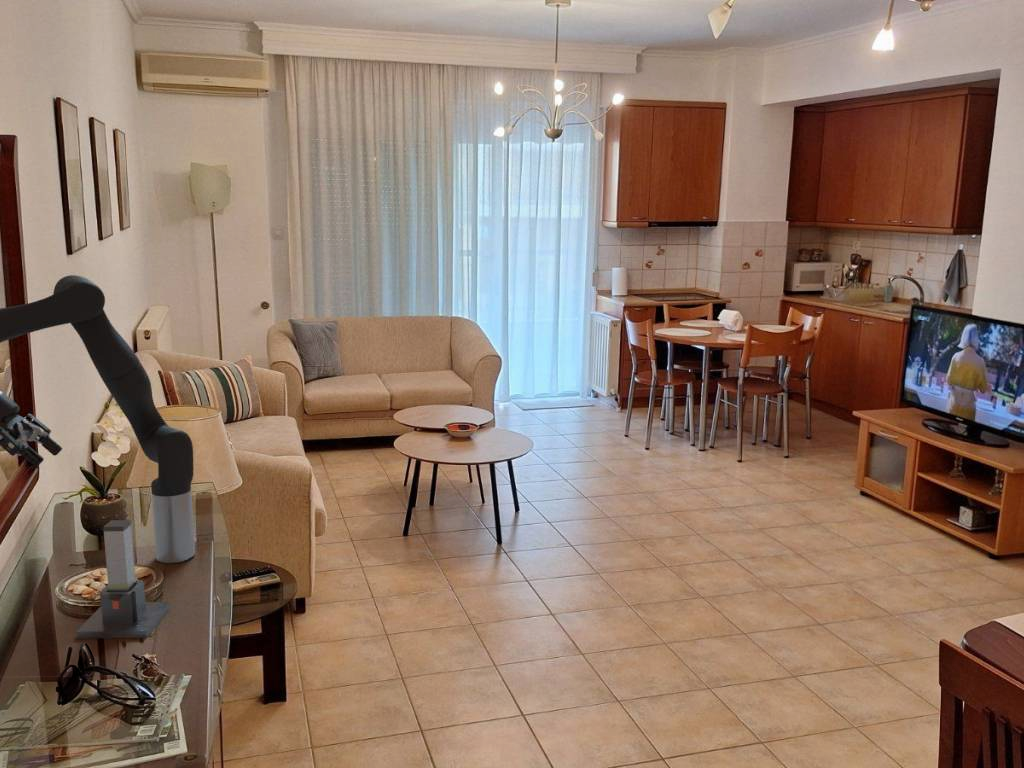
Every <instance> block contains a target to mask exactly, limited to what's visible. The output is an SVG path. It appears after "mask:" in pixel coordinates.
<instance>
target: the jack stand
mask: <svg viewBox="0 0 1024 768" xmlns="http://www.w3.org/2000/svg"><path fill="white" fill-rule="evenodd" d="M135 582H136V585H135V586H134V587H133V588H132V590H131V591H130V592H109V589H108V584H107V585H106V586H105V587H104V588H102V590H100V591H99V594H100V597H99V598H100V607H98V609H96V610H95V612H94V613H93V614H92V615H91V616H90V617H89V618H88V619H87V620H86V621H85V622H84V623H83V624H82V625H81V626H80V627H79V628H78V629H77V630H76V631H75V632H76V635H75V636H76V639H77V640H78V639H146V638H148V636H149V635H150V634H151V633H152V632H153V630H154V629H155V628H156V627H157V626H158V624H159V623H160V622H161V620H162V619H163V618H164V617H165V616H166V615H167V613H168V612H169V610H171V604H170V601H152V602H151V601H146V592H145V591H146V590H145V582H144V580H143V579H135Z"/></svg>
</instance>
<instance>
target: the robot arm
mask: <svg viewBox="0 0 1024 768" xmlns="http://www.w3.org/2000/svg"><path fill="white" fill-rule="evenodd" d="M105 303H106V297H105V293H104V292H103V290H102V288H100V287H99V286H98V284H96V283H95V282H93V281H92V280H90V279H88V278H86V277H84V276H82V275H81V276H80V275H76V274H74V275H72V274H71V275H66V276H63V277H61V278H60V279H59V280H58V281H57V282H56V283H55V286H54V289H53V293H52V295H49V296H47V297H45V298H42V299H39V300H36V301H32V302H29V303H24V304H19V305H15V306H7V307H2V308H0V344H1V343H3V342H6V341H9V340H11V339H15V338H18V337H20V336H23V335H27V334H31V333H34V332H37V331H41V330H44V329H48V328H53V327H54V328H55V327H57V326H62V325H63V326H64V325H68V324H70V325H71V326H72V327H73V329H74V330H75V331H76V333H77V334H78V336H79V337H80V340H81V341H82V343H83V345H84V347H85V350H86V351H87V353H88V355H89V358H90V359H91V362H92V364H93V365H94V367H95V369H96V371H97V373H98V375H99V376H100V379H101V380H102V382H103V383H104V384H105V387H106V389H107V390H108V391H109V393H110V395H111V396H112V397H113V399H114V400H115V403H116V404H117V406H119V407H118V408H120V411H122V413H123V415H124V416H125V418H126V419H127V421H128V422H129V424H130V426H131V428H132V430H133V433H134V434H135V437H136V439H137V441H138V444H139V445H140V448H141V450H142V453H143V454H144V455H145V456H146V457H147V458H148V460H151V462H154V463H157V467H158V470H157V478H154V479H153V480H152V481H151V483H150V484H151V485H150V489H151V502H152V519H153V528H154V531H153V532H154V545H155V546H154V547H155V558H156V561H157V562H159V563H163V564H176V563H181V562H185V560H186V561H188V559H189V558H191V557H192V556H194V554H195V555H196V547H195V530H194V516H193V515H194V514H193V500H192V499H193V498H192V481H193V478H194V446H193V442H192V441H193V440H192V439H191V437H190V435H189V434H188V433H187V432H185V431H184V430H181V429H178V428H174V427H171V426H169V425H168V423H167V422H166V421H165V420H164V418H163V417H162V414H160V412H159V410H158V409H157V407H156V405H155V403H154V399H153V390H152V389H153V387H152V383H151V380H150V377H149V375H148V373H147V371H146V370H145V367H144V366H143V364H142V363H141V361H140V359H139V358H138V356H137V354H136V353H135V352H134V351H133V349H132V347H131V346H130V345H129V344H128V342H127V341H126V340H125V339H124V337H123V336H121V334H120V333H119V332H118V331H117V330H116V328H115V327H114V326H113V324H112V323H111V321H110V319H109V317H108V315H107V314H106V312H105V310H104V307H105ZM20 410H21V408H20V406H19V405H18V404H17V403H16V402H15V401H13V400H12V399H11V398H10V397H9V396H8V395H6V393H4V392H3V391H2V390H0V447H2V449H3V450H5V451H6V452H7V453H8V454H9V455H11V456H13V457H14V456H15V455H18V456H19V457H20V456H22V457H23V458H25V460H27V461H28V462H29V463H30V464H31V465H33V466H34V467H39V466H40V465H41V464H42V463H43V462H44V457H43V456H42V455H40V453H38V452H37V451H36V450H34V449H33V448H32V447H31V446H29V444H28V442H35V443H38V444H40V445H41V447H43V448H45V450H47V451H48V453H50V454H51V455H52V456H57V455H59V453H61V451H62V450H63V448H62V446H61V445H60V444H58V443H57V442H56V441H54V440H53V439H52V438H51V437H50V436H51V435H50V434H51V433H52V430H51V429H50V428H49V427H47V425H46V424H44V422H43V423H42V422H41V420H39V419H38V418H36V417H35V416H34V415H33V414H31V413H28V414H27V415H25V417H23V416H21V415H19V411H20ZM194 557H195V556H194ZM191 559H192V558H191ZM189 560H190V559H189Z"/></svg>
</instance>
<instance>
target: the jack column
mask: <svg viewBox="0 0 1024 768" xmlns="http://www.w3.org/2000/svg"><path fill="white" fill-rule="evenodd" d="M103 538H104V539H103V540H104V549H105V550H104V551H105V561H106V564H105V565H106V573H107V577H106V578H107V585H108V589H109V592H130V591H131V590H132V588H133V587H134V586H135V585H136V582H135V580H136V572H135V559H134V545H133V532H132V521H131V519H112V520H111V519H110V521H108V522H107V523H106V524H105V525H104V526H103Z"/></svg>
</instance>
